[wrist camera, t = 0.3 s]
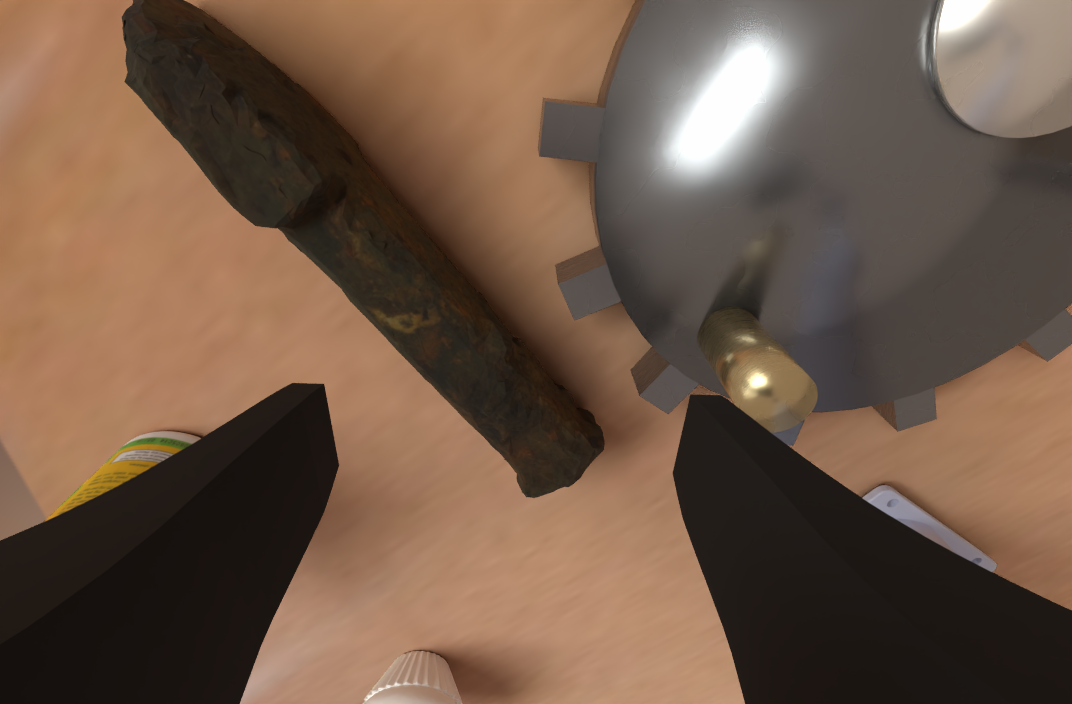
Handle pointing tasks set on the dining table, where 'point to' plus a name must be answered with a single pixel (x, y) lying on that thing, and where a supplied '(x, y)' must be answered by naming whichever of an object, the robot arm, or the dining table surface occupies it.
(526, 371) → the dark brown rough bar
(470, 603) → the dining table surface
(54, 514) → the supplement bottle
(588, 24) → the dining table surface
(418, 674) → the white ribbed jar
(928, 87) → the sprocket
